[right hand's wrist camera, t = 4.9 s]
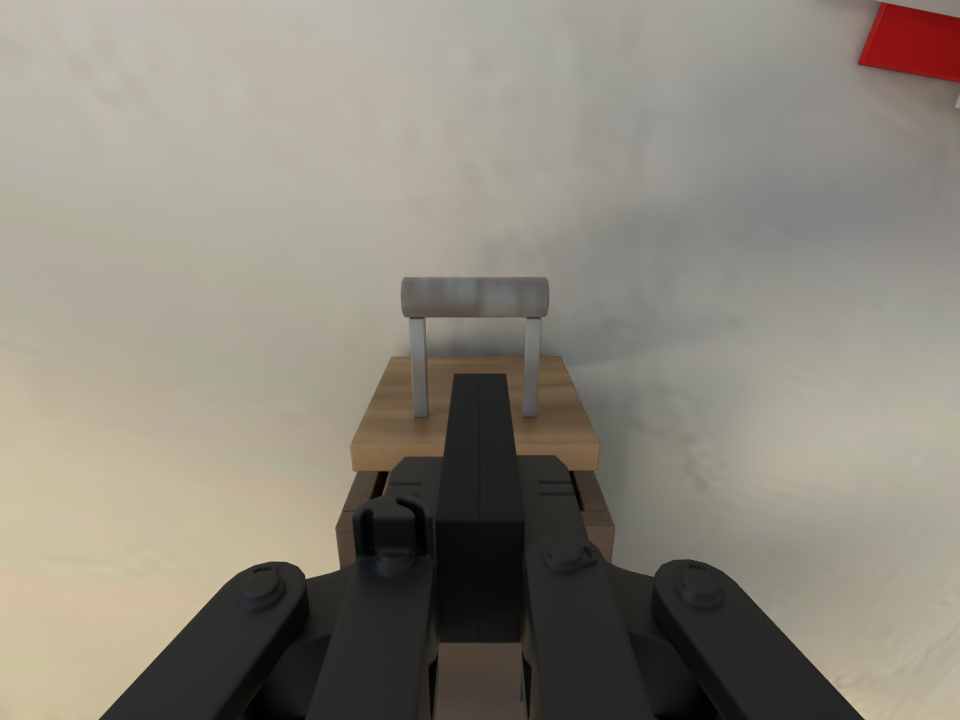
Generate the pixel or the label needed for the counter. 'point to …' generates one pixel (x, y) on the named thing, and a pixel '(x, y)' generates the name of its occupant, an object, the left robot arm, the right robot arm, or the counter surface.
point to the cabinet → (480, 666)
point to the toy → (916, 39)
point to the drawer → (428, 380)
